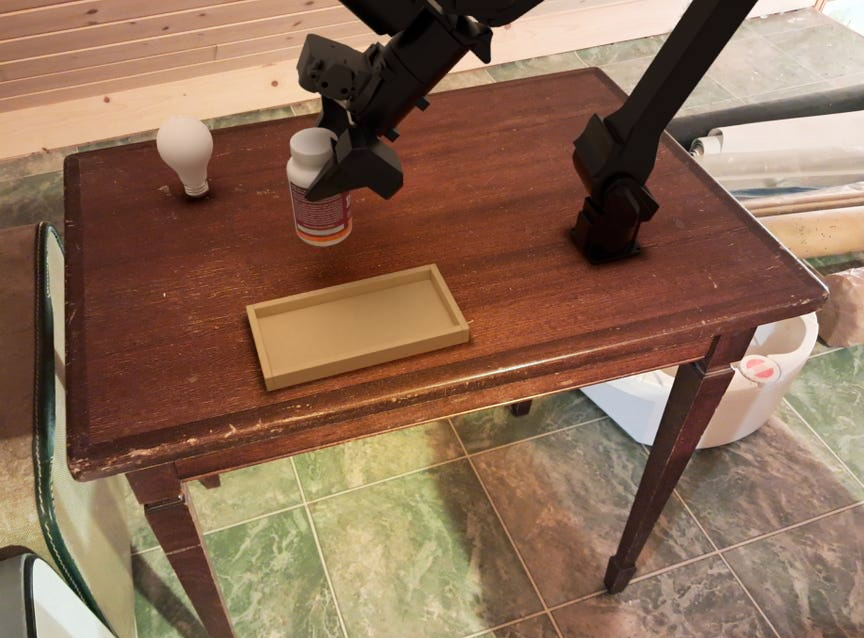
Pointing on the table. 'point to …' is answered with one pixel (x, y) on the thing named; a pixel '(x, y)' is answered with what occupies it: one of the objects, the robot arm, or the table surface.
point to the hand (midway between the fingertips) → (305, 180)
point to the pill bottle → (309, 156)
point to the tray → (355, 326)
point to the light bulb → (187, 151)
